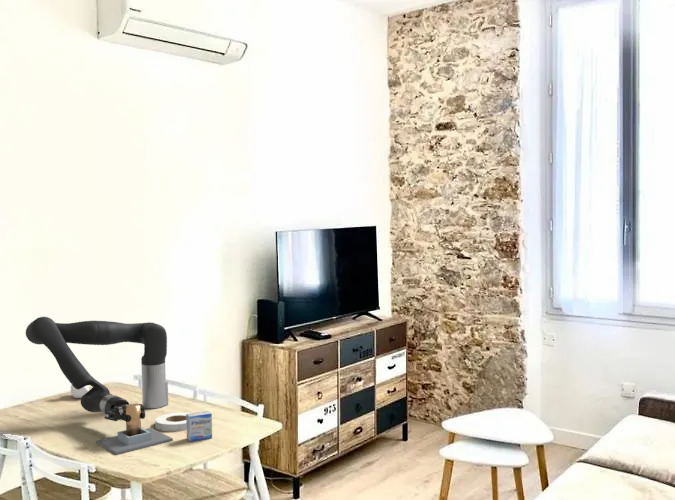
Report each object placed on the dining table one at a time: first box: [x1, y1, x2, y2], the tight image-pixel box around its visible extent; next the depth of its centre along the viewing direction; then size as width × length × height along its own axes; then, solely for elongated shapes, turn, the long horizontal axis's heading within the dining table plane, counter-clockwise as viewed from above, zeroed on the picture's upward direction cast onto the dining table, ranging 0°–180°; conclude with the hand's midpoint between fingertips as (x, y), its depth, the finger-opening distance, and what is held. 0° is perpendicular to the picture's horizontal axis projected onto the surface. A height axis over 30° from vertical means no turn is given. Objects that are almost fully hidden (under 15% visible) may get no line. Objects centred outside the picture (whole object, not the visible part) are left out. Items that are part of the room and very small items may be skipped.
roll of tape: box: [154, 412, 191, 432], centre depth 255 cm, size 16×15×3 cm
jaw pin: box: [125, 403, 142, 437], centre depth 236 cm, size 5×5×10 cm
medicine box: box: [186, 410, 213, 442], centre depth 240 cm, size 8×4×9 cm, turn 117°
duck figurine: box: [69, 384, 90, 399], centre depth 294 cm, size 12×8×11 cm
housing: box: [95, 427, 174, 456], centre depth 237 cm, size 20×16×3 cm
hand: (136, 417), depth 235 cm, fingers closed on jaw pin, 4 cm apart
